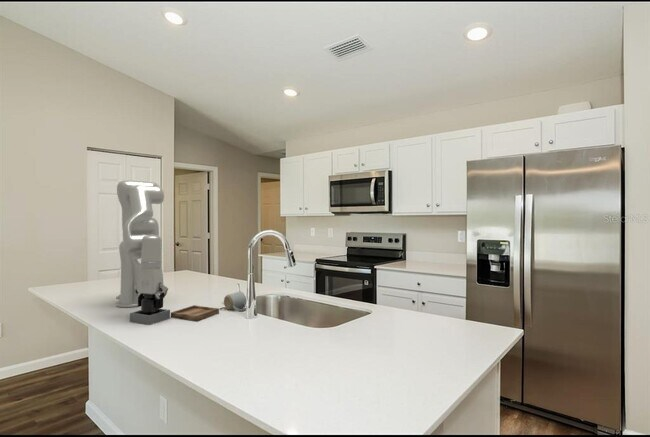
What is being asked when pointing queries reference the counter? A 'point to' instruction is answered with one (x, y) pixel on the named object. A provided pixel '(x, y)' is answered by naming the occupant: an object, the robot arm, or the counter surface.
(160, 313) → the gray open box
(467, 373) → the counter surface
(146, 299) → the supplement bottle
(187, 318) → the walnut tray
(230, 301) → the ceramic mug
